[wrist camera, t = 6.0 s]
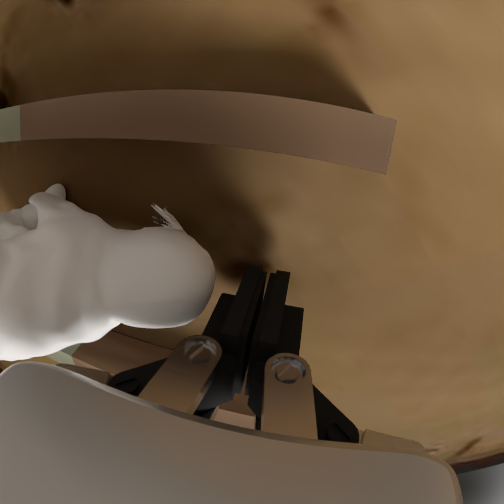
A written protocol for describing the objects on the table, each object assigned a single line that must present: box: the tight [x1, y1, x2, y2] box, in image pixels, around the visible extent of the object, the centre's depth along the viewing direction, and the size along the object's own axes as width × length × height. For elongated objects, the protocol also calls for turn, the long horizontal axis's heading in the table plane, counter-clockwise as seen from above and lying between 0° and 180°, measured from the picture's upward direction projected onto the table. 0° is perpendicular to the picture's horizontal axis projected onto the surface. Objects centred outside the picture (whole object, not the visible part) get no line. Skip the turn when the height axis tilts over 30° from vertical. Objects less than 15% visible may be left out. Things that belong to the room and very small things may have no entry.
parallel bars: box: [0, 89, 397, 429], centre depth 13 cm, size 15×20×3 cm
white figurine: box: [0, 184, 216, 361], centre depth 10 cm, size 6×8×12 cm
